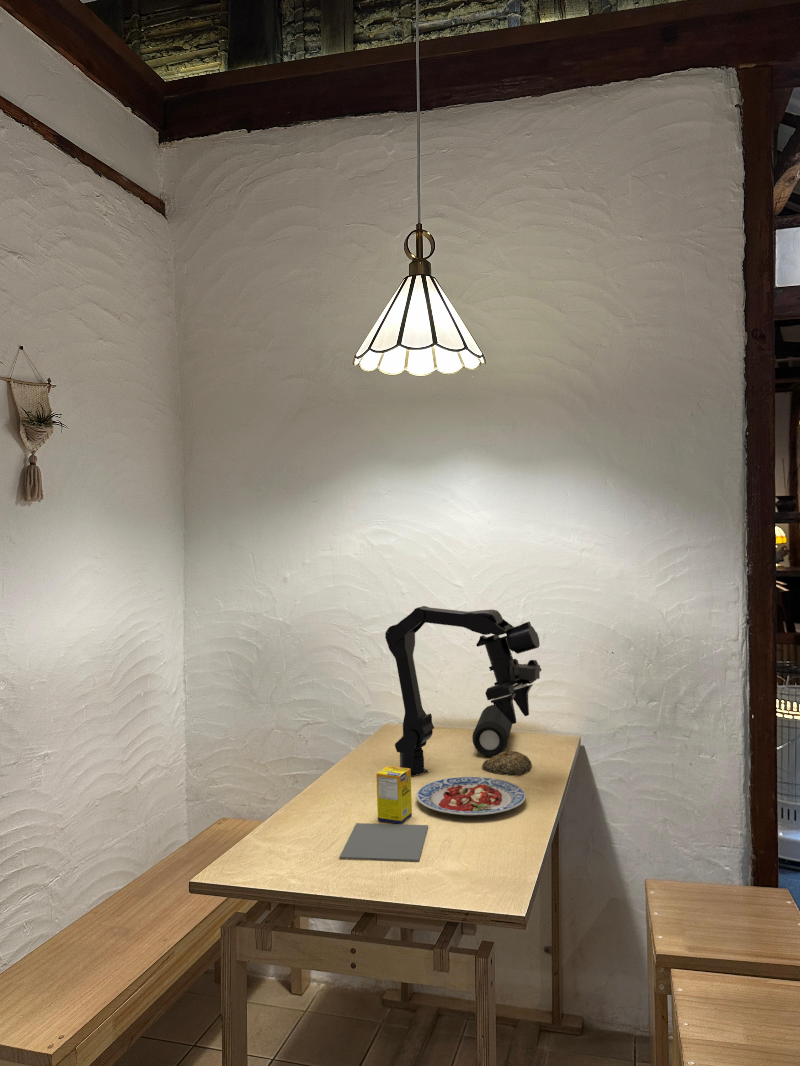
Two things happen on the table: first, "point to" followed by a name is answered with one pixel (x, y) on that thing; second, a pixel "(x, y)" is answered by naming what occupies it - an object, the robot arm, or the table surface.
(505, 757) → the bread roll
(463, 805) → the ceramic plate
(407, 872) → the table surface
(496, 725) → the portable speaker
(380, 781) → the supplement box
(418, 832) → the rubber mat
